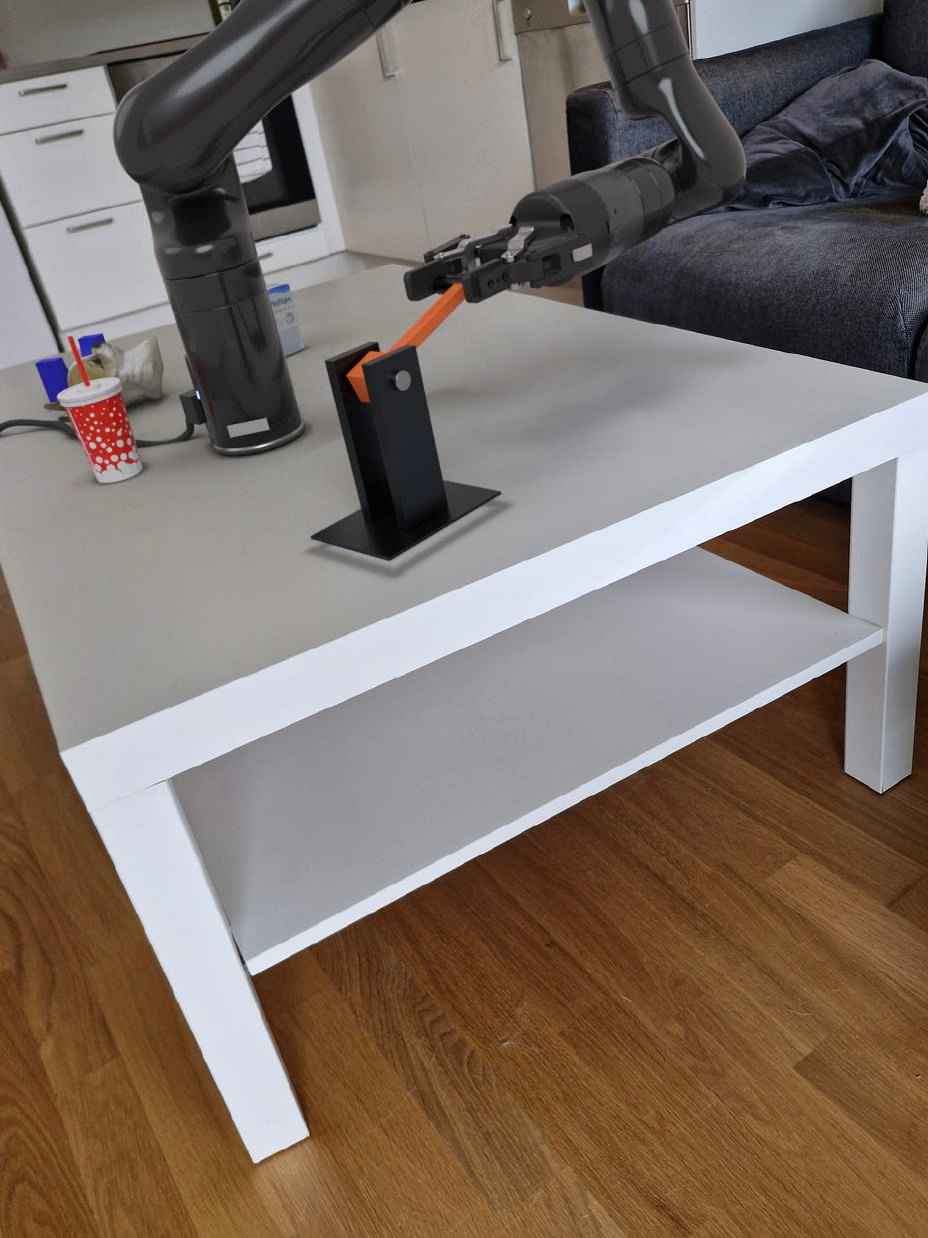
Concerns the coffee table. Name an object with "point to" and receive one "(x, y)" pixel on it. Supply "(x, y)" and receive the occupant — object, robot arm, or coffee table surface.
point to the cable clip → (62, 368)
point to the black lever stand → (392, 458)
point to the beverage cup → (102, 425)
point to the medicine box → (285, 317)
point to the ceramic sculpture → (120, 371)
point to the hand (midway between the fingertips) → (437, 288)
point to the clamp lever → (417, 327)
